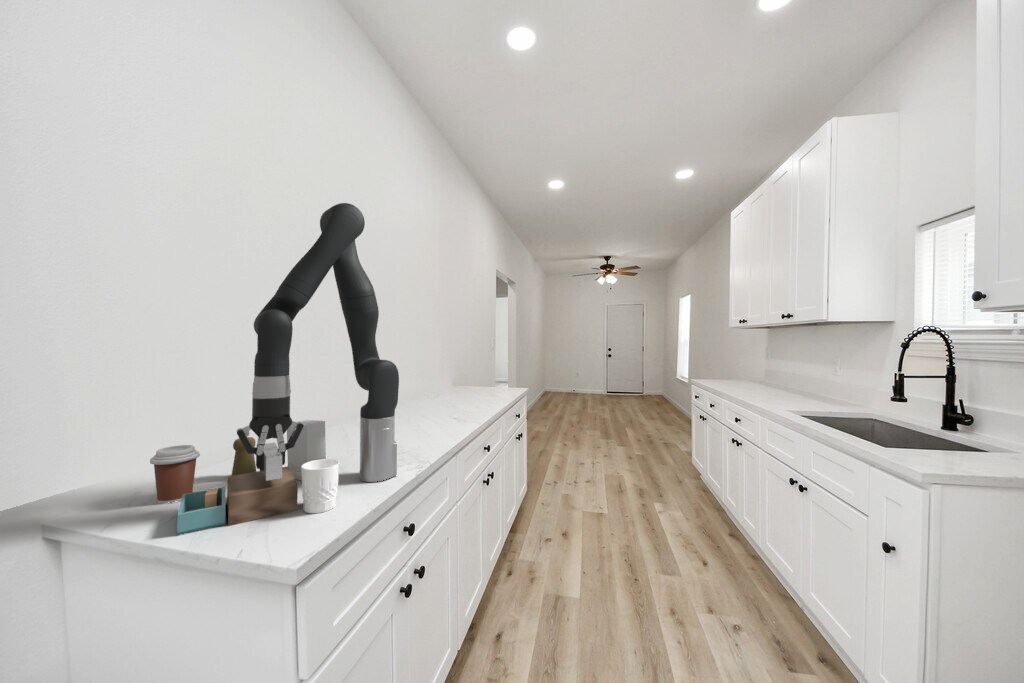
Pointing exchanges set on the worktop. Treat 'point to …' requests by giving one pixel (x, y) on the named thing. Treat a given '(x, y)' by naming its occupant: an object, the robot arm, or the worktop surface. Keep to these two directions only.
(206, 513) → the teal box
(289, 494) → the brown wooden box
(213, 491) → the terracotta tile
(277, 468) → the steel bar
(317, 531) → the worktop surface
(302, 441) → the skincare box
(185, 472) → the coffee cup
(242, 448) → the olive pepper mill
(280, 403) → the robot arm
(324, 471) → the white cup
